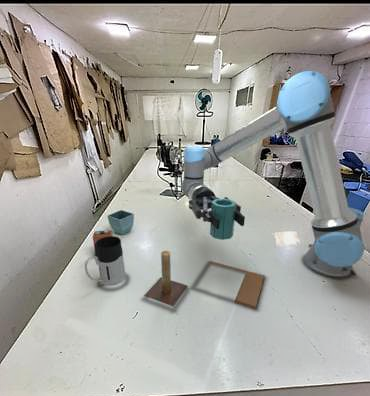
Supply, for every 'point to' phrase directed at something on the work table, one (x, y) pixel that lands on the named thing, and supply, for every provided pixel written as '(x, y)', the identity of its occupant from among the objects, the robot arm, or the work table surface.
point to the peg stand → (166, 284)
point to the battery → (100, 236)
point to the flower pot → (121, 221)
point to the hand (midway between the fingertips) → (230, 222)
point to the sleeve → (223, 218)
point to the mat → (247, 287)
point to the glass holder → (109, 261)
